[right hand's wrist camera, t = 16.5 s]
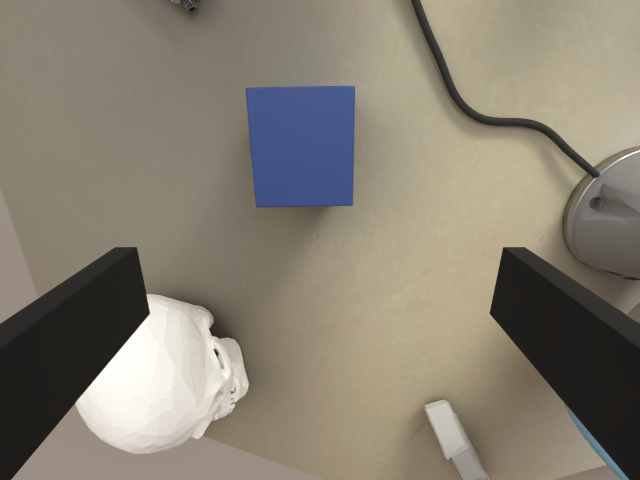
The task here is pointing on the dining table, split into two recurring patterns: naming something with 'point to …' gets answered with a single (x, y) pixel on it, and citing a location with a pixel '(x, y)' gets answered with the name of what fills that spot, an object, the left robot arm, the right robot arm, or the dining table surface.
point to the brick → (302, 145)
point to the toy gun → (187, 4)
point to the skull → (165, 381)
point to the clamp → (455, 441)
